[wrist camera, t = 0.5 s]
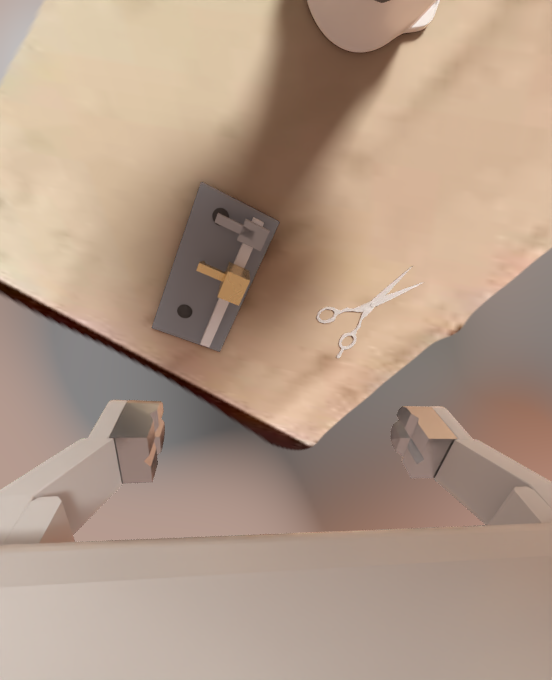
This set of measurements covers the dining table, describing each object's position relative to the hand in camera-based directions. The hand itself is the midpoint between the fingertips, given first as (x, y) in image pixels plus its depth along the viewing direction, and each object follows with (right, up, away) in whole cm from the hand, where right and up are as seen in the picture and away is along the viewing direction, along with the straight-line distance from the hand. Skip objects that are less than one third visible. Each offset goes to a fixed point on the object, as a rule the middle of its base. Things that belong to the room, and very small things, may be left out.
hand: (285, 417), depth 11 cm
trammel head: (-8, +13, +36) cm, 40 cm away
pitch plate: (-11, +13, +39) cm, 42 cm away
